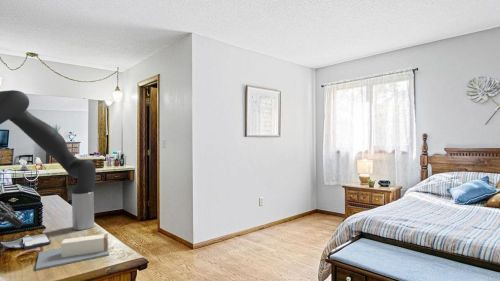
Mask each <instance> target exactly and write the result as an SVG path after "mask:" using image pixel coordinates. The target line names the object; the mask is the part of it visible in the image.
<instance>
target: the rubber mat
mask: <svg viewBox="0 0 500 281" xmlns="http://www.w3.org/2000/svg"><path fill="white" fill-rule="evenodd" d="M109 255H110V253H109V250H108V251H101V252H95V253H88V254H81V255H74V256H67V257H61V247H60V248H54V249H47V250H43V251H39V252H38V256H37V261H36V265H35V271H39V270H44V269H49V268H54V267H58V266H64V265H68V264H73V263H74V264H75V263H78V262H84V261H88V260H93V259H97V258H103V257H107V256H109Z"/></svg>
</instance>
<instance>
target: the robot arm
mask: <svg viewBox="0 0 500 281" xmlns="http://www.w3.org/2000/svg"><path fill="white" fill-rule="evenodd" d="M29 106H30V99H29V97H28V96H27V95H26V94H25V93H24V92H22V91H19V90H15V89H14V90H13V89H12V90H11V89H10V90H2V91H1V90H0V125H2V124H3V123H5V122H7V121H10V122H11V123H12V124H14V125H15V126H16V127H18V128H19V129H20V131H22V132H23V133H24V134H25V135H26V136H28V138H30V139H31V140H32V141H33V142H34V143H35V144H36V145H37V146H38V147H39V148H41V150H43V151H45V153H46V154H48V155H49V156H50V157H52V158H53V159H54V160H55V161H56V162H57V163H58V164H59V165H60V167H62V168H63V169H64V170H65V172H66V173H67V174H68V176H70V177H72V178H75V179H77V184H76V185H75V186H73V187H72V188H71V214H72V218H71V219H72V224H71V226H72V230H75V231H82V230H84V231H85V230H88V229H91V228H93V227H94V226H95V207H94V206H95V204H94V203H95V202H94V201H95V196H94V188H95V186H96V176H97V175H96V164H95V163H94V161H93V160H90V159H79V158H78V157H77V156H75V155H74V154H73V153H72V152H71V151H70V150H69V148H68V145H67V142H66V139H65V138H64V137H63V136H62V134H60V132H58V131H57V130H56V128H54V127H53V126H51V125H50V124H48V123H46V122H45V121H43V120H42V119H40V118H38V117H36V116H35V115H33V114H32V113H31V112H29V111H28V110H27V109H28V108H29ZM52 158H51V159H52ZM0 223H3V224H5V223H8V224H10V225H12V226H13V227H15V228H16V229H20V228H21V226H23V225H24V223H25V222H24V221H23V220H21V219H20V218H19V217H17V216H16V211H15V210H14V209H13V207H12V205H10V203H8V202H6V203H5V202H3V201H0Z"/></svg>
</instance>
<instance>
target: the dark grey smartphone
mask: <svg viewBox="0 0 500 281" xmlns="http://www.w3.org/2000/svg"><path fill="white" fill-rule="evenodd" d="M29 236H30V237H31V238H33V240H32V241H31V242H24V246H23V248H24V250H32V249H36V248H40V247H45V246H50V245H51V242H52V241H51V239H50V238H49V237H48V235H47V234H46V233H40V234H35V235H29Z"/></svg>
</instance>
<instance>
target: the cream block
mask: <svg viewBox="0 0 500 281" xmlns="http://www.w3.org/2000/svg"><path fill="white" fill-rule="evenodd" d="M60 248H61V257H67V256H74V255H81V254H88V253H95V252H101V251H108V252H109V233H103V234H102V233H101V234H93V235H86V236H79V237H71V238H70V237H69V238H64V239H63V240H62V242H61V243H60Z"/></svg>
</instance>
